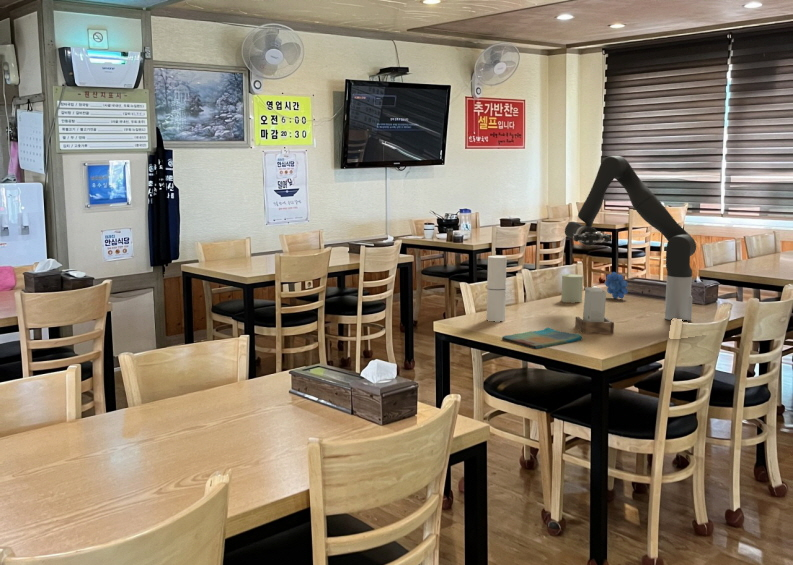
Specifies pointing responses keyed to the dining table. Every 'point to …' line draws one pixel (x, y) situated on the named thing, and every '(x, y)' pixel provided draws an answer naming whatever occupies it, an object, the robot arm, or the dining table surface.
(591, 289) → the skincare box
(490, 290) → the cylindrical container
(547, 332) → the dish towel
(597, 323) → the bracket
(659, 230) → the robot arm
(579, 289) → the can
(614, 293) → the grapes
